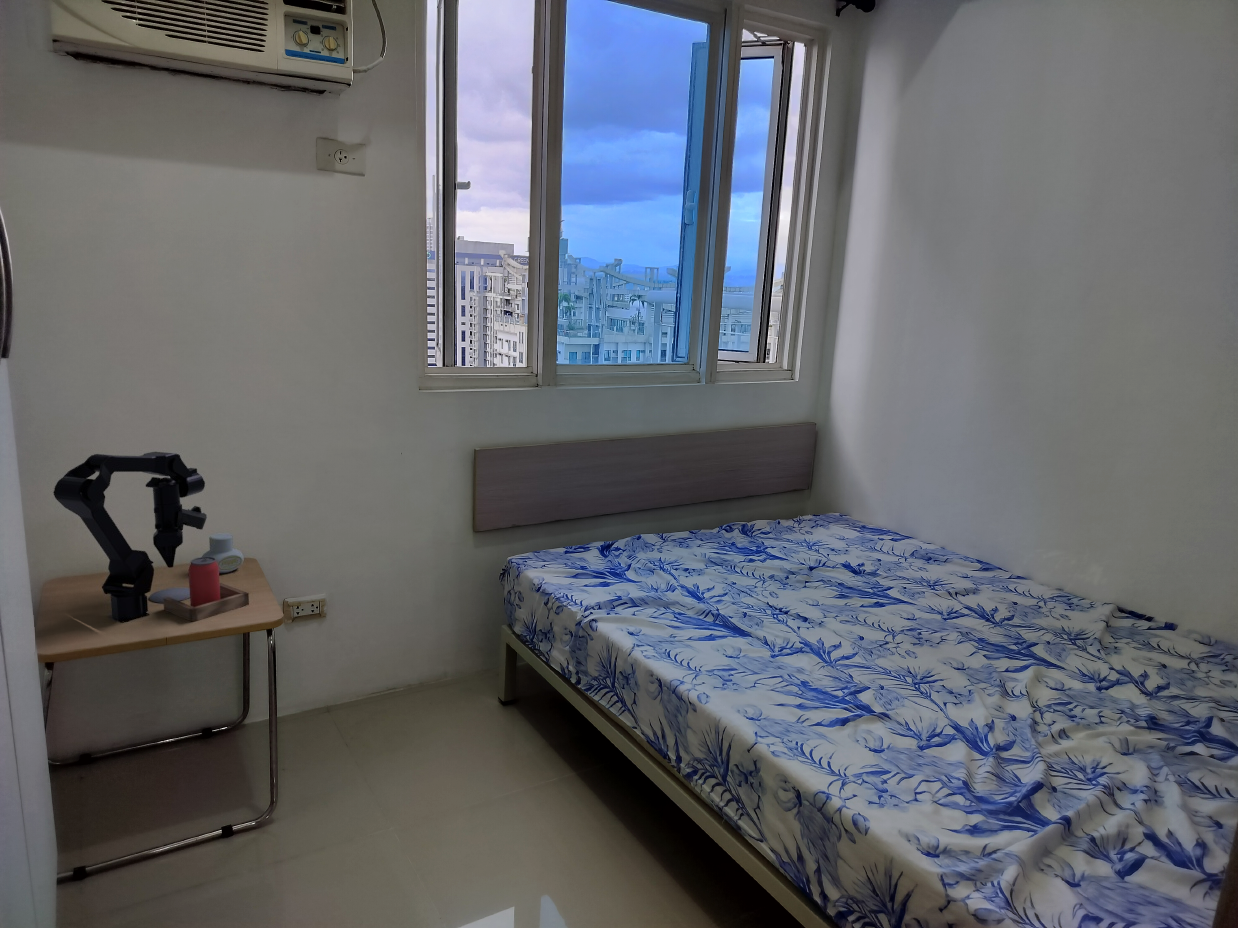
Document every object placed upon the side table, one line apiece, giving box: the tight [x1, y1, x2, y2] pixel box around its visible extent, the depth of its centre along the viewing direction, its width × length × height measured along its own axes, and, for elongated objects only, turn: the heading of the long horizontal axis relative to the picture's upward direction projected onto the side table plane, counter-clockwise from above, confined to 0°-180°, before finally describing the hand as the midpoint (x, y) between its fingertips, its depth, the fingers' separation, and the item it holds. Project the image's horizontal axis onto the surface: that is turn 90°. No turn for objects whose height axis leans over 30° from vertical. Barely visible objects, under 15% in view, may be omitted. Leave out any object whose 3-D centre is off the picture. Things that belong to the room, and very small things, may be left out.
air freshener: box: [201, 532, 245, 574], centre depth 220 cm, size 11×8×10 cm
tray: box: [163, 582, 250, 623], centre depth 194 cm, size 14×12×3 cm
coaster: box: [149, 587, 190, 604], centre depth 200 cm, size 10×10×1 cm
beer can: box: [188, 556, 221, 607], centre depth 194 cm, size 7×7×12 cm
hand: (171, 561), depth 199 cm, fingers open, 9 cm apart
